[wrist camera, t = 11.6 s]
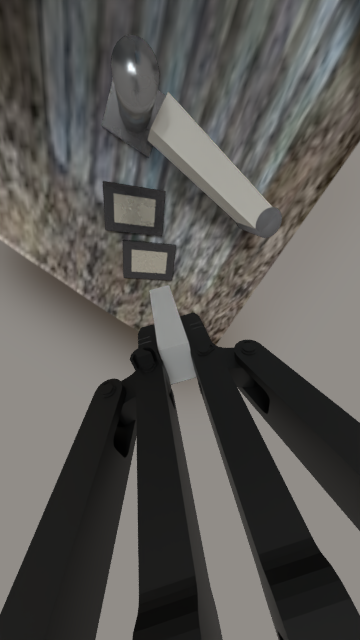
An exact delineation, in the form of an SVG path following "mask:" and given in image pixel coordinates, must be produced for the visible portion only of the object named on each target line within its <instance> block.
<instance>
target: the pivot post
mask: <svg viewBox="0 0 360 640" xmlns="http://www.w3.org/2000/svg"><path fill="white" fill-rule="evenodd" d="M111 70H112V77H113V80H112V84H111V88H110V92H109V96H108V100H107V105H106V109H105V113H104V117H103V121H102V127H103V128H104V129H106V130H107V131H109V132H110V133H112V134H113V135H115V136H116V137H118V138H119V139H121V140H122V141H124V142H125V143H127V144H128V145H130V146H131V147H133V148H134V149H136V150H137V151H139V152H140V153H142V154H143V155H145V156H146V157H148V158H149V156H150V153H151V150H152V147H153V145H152V144H151V143H150V142H149V141H148V140H147V139H148V136H149V132H150V129H151V127H152V124H153V122H154V120H155V118H156V116H157V114H158V112H159V110H160V108H161V105H162V103H163V101H164V99H165V97H166V96H165V95H164V94H163V93H161V92H160V91H159V90H158V86H159V68H158V63H157V60H156V57H155V55H154V53H153V51H152V49H151V47H150V46H149V45H148V44H147V43H146V42H145V41H144V40H143V39H142V38H140V37H138V36H135V35H127V36H124V37H122V38H121V39H120V40H119V41H118V42H117V44H116V45H115V47H114V50H113V53H112V58H111Z"/></svg>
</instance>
